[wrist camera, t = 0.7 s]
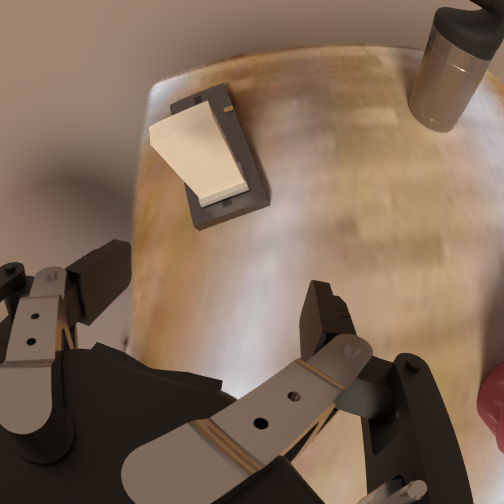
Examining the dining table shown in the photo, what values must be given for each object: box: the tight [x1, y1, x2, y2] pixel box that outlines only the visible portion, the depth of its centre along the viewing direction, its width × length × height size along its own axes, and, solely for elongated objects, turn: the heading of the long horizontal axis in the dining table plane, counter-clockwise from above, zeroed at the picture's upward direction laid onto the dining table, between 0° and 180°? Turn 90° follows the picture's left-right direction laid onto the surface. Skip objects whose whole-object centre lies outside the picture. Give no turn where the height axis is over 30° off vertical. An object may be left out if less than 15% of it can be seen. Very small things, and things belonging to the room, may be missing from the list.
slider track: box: [170, 83, 270, 231], centre depth 38 cm, size 24×10×2 cm, turn 17°
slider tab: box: [149, 101, 249, 207], centre depth 29 cm, size 4×6×14 cm, turn 107°
